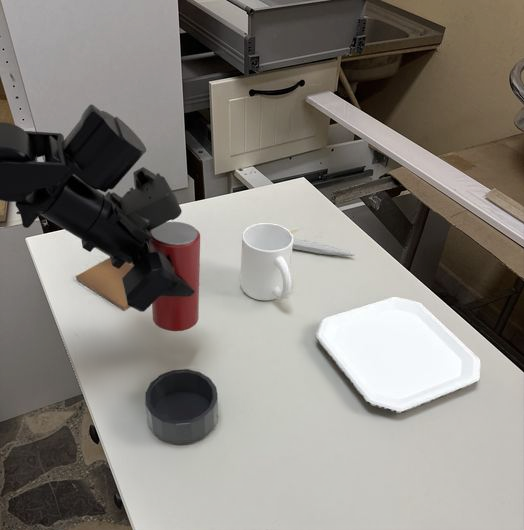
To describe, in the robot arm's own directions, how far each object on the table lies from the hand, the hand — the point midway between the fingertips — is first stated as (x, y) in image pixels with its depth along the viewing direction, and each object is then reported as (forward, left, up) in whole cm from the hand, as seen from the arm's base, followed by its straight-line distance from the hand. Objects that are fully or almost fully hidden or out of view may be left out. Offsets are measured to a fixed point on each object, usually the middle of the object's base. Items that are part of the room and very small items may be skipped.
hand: (186, 278), depth 71 cm
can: (-2, -1, -6) cm, 7 cm away
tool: (+24, +24, -14) cm, 37 cm away
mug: (+14, +12, -14) cm, 23 cm away
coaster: (-10, +18, -13) cm, 25 cm away
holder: (-2, -13, -13) cm, 19 cm away
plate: (+31, -5, -14) cm, 34 cm away
